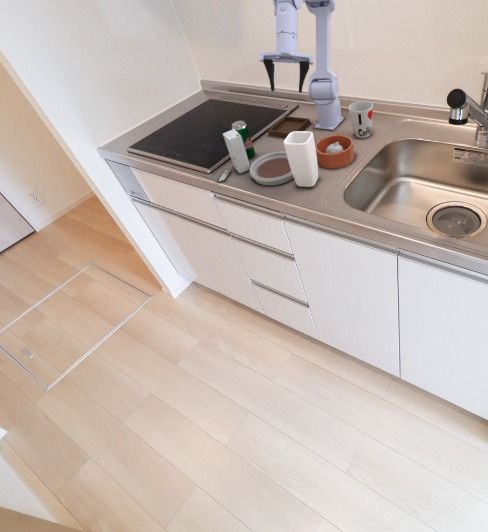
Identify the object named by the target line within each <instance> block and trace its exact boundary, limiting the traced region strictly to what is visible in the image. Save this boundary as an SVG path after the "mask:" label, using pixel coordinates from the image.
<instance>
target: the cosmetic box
mask: <svg viewBox="0 0 488 532" xmlns="http://www.w3.org/2000/svg"><path fill="white" fill-rule="evenodd" d="M222 137H223V138H224V141H225V145H226V148H227V150H228V153H229V156H230V159H231V163H232V165H233V168H234V169H235V171H236V172H238V173H239V174H242V173H245V172H248V171H250V167H251V165H250V161H249V159H248V158H247V154H246V151H245V147H244V144H243V141H242V137H241V135H240V134H239V133H238V132H237V131H235V130H234V129H233V130H232V129H231V130H228V131H226V132H223V133H222Z"/></svg>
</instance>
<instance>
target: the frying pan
mask: <svg viewBox="0 0 488 532" xmlns="http://www.w3.org/2000/svg"><path fill="white" fill-rule="evenodd" d="M249 175H250V177H251V178H252V179H253V180H254V181H255V182H256V183H257V184H260V185H261V186H262V185H263V186H277V185H281V184H285V183H287V182H289V181H291V180H293V179H294V176H293V174H292V171H291V168H290V165H289V162H288V158H287V154H286V151H274V152H270V153H266V154H264V155H262V156H260V157H258V158H256V159H255V160H254V161H253V162H252V163H251V165H250V170H249Z"/></svg>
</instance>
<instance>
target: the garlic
mask: <svg viewBox="0 0 488 532" xmlns="http://www.w3.org/2000/svg"><path fill="white" fill-rule="evenodd" d="M342 151H343V148H342V146H341V145H339V142H336V143H334V144H331V145H329V146H328V147H327V148H326V153H327V154H332V153H338V152H342Z"/></svg>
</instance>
